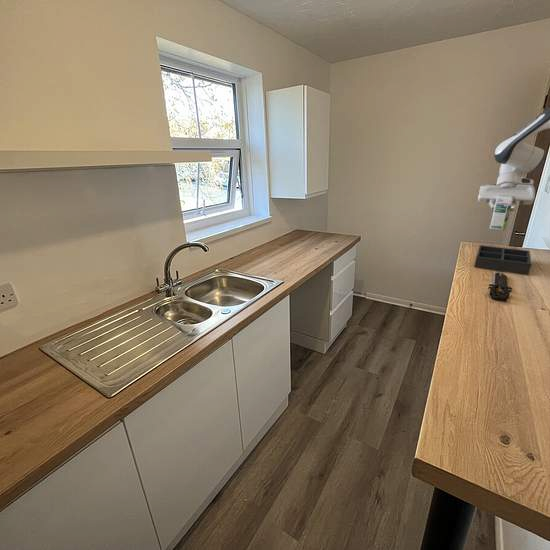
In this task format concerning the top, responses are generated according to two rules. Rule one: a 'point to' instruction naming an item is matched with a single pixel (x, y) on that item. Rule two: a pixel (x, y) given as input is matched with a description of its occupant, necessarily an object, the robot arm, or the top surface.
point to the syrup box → (501, 212)
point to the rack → (503, 259)
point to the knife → (496, 285)
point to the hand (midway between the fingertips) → (502, 210)
